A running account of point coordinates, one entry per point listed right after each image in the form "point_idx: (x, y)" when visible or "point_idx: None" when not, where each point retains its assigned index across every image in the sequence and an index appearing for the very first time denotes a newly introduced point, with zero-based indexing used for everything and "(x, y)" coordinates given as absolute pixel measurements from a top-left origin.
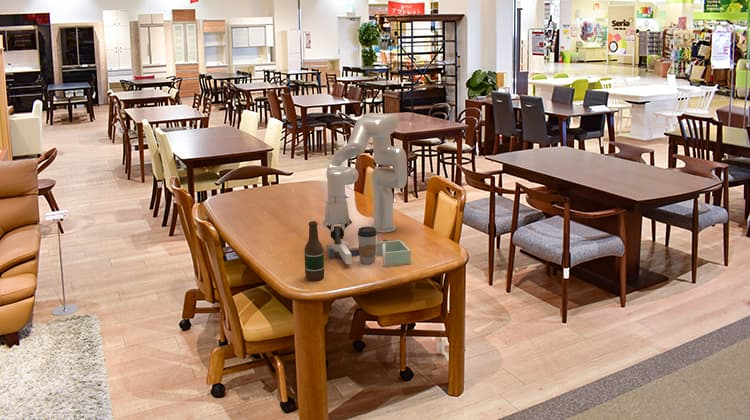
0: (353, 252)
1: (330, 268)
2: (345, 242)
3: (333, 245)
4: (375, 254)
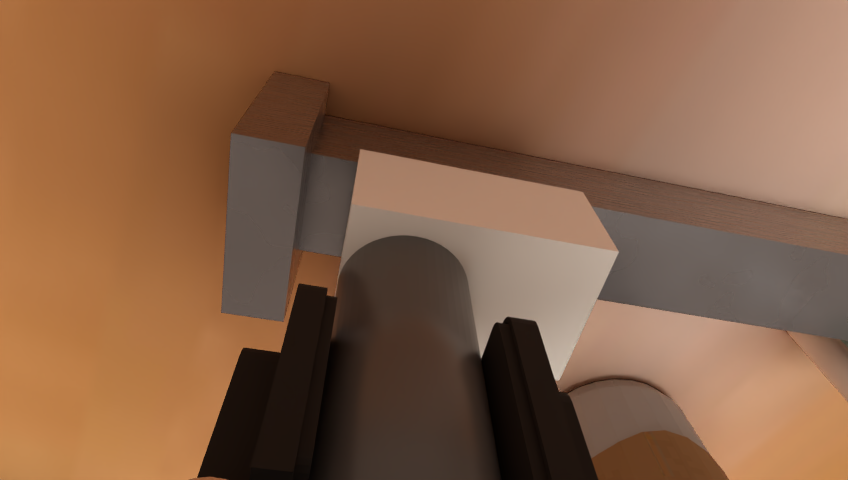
0: None
1: (199, 426)
2: (557, 306)
3: (355, 179)
4: (802, 347)
